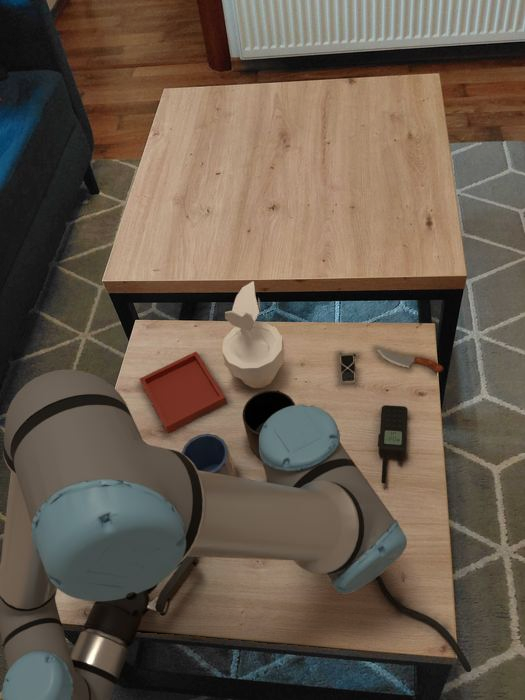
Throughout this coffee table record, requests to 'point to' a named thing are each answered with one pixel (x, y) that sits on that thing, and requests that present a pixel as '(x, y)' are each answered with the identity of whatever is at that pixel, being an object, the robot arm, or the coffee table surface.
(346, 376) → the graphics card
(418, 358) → the knife
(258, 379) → the potted plant
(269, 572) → the coffee table surface
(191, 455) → the blue cup
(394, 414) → the walkie-talkie
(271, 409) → the mug
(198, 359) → the red tray
